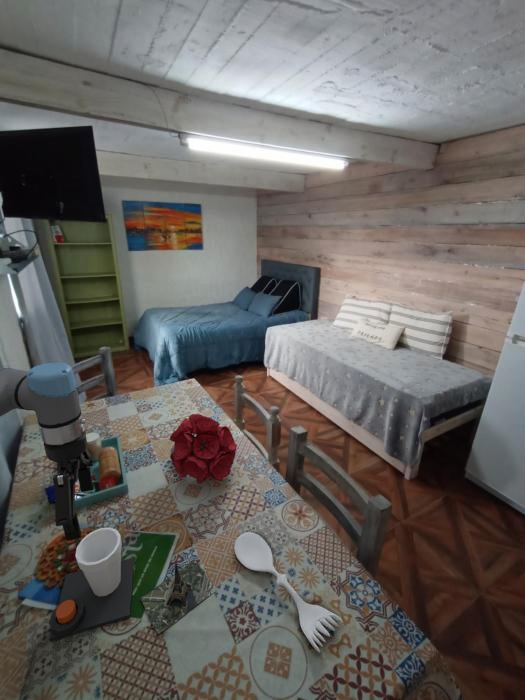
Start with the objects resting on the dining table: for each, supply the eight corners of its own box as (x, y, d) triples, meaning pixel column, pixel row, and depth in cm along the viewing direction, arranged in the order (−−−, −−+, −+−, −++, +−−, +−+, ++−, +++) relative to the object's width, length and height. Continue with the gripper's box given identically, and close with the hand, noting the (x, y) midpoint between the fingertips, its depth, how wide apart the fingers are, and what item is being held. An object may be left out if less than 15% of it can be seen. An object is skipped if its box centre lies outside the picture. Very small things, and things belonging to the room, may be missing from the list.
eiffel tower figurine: (195, 559, 85) (192, 523, 80) (216, 590, 78) (215, 552, 73) (140, 599, 76) (133, 560, 71) (158, 638, 69) (152, 598, 64)
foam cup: (112, 557, 84) (105, 521, 79) (135, 576, 80) (129, 539, 75) (77, 589, 76) (66, 551, 72) (100, 612, 72) (91, 573, 67)
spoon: (317, 661, 66) (319, 652, 64) (227, 550, 88) (227, 541, 87) (343, 628, 71) (344, 619, 70) (252, 531, 94) (252, 523, 92)
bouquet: (159, 493, 114) (208, 498, 94) (140, 431, 115) (183, 423, 95) (205, 466, 131) (255, 465, 111) (188, 411, 131) (234, 401, 111)
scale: (48, 643, 67) (45, 635, 66) (66, 577, 80) (63, 569, 79) (130, 619, 72) (128, 611, 71) (134, 560, 85) (133, 552, 84)
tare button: (55, 626, 68) (53, 620, 67) (60, 608, 71) (58, 602, 71) (74, 620, 69) (72, 615, 68) (78, 603, 72) (76, 597, 72)
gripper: (69, 474, 55) (88, 558, 63) (95, 403, 78) (107, 471, 85) (19, 482, 53) (45, 568, 61) (61, 406, 76) (76, 476, 83)
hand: (81, 512), depth 73 cm, fingers open, 13 cm apart
